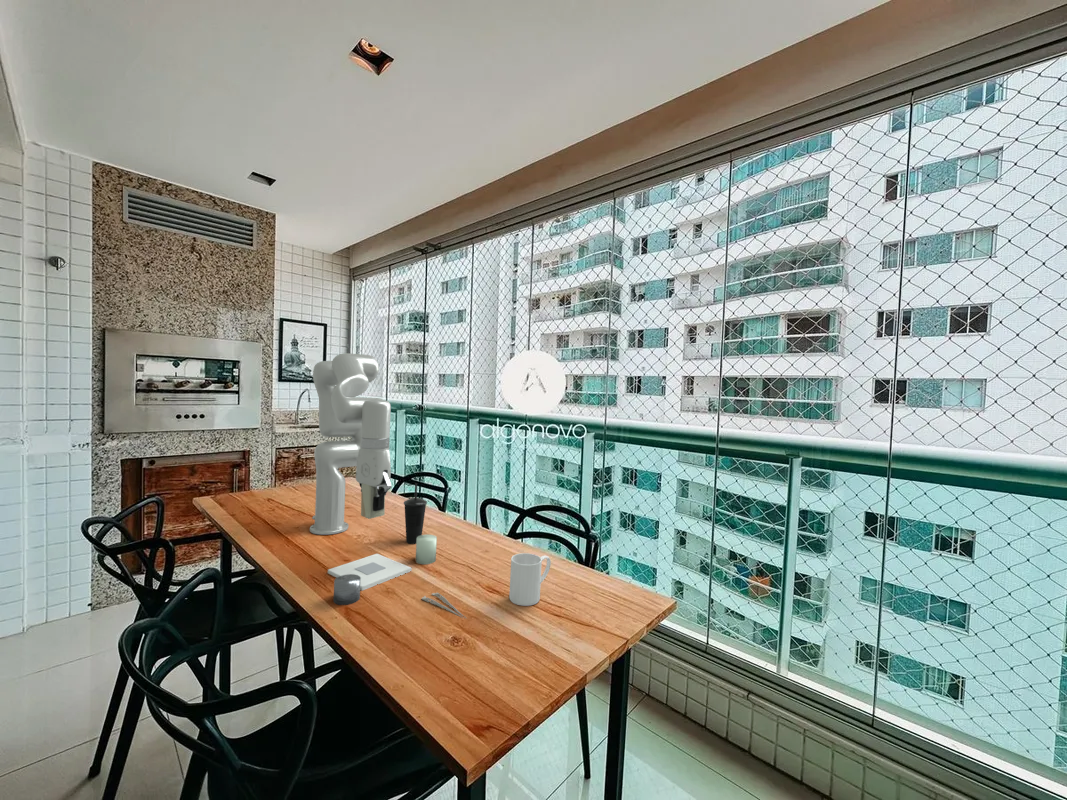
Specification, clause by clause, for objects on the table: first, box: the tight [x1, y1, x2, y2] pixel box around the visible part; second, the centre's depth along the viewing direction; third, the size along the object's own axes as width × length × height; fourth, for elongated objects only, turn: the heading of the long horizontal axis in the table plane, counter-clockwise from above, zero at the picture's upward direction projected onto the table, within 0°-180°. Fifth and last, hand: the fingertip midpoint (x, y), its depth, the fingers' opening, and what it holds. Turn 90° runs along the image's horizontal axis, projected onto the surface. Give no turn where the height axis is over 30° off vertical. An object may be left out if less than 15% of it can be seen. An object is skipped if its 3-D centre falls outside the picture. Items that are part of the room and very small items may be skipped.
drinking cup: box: [403, 482, 428, 545], centre depth 151 cm, size 8×8×20 cm
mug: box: [508, 552, 552, 607], centre depth 116 cm, size 12×8×10 cm, turn 130°
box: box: [360, 482, 386, 520], centre depth 126 cm, size 5×4×11 cm
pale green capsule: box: [415, 534, 438, 565], centre depth 136 cm, size 6×6×7 cm
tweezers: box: [421, 592, 467, 619], centre depth 108 cm, size 17×5×2 cm, turn 49°
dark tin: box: [333, 574, 361, 606], centre depth 110 cm, size 6×6×5 cm
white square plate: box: [327, 553, 413, 591], centre depth 126 cm, size 16×16×1 cm
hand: (372, 507), depth 126 cm, fingers closed on box, 4 cm apart
